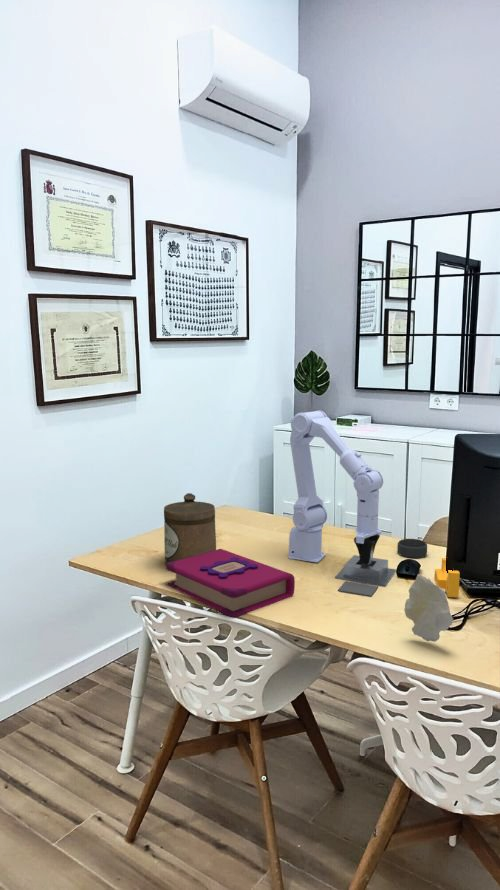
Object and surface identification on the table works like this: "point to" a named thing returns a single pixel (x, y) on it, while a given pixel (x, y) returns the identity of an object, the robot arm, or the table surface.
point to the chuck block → (366, 572)
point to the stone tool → (427, 609)
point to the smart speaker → (412, 548)
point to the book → (230, 582)
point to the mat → (358, 589)
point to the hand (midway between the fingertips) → (366, 561)
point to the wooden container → (188, 529)
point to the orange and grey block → (369, 560)
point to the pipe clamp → (447, 580)
